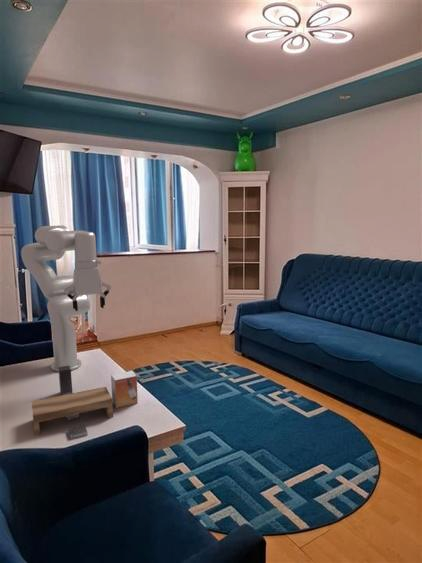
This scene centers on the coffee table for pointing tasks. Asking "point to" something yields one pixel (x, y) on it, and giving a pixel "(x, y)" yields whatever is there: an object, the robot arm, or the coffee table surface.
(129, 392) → the small box
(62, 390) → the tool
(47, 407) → the bench
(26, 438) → the coffee table surface
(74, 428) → the token
